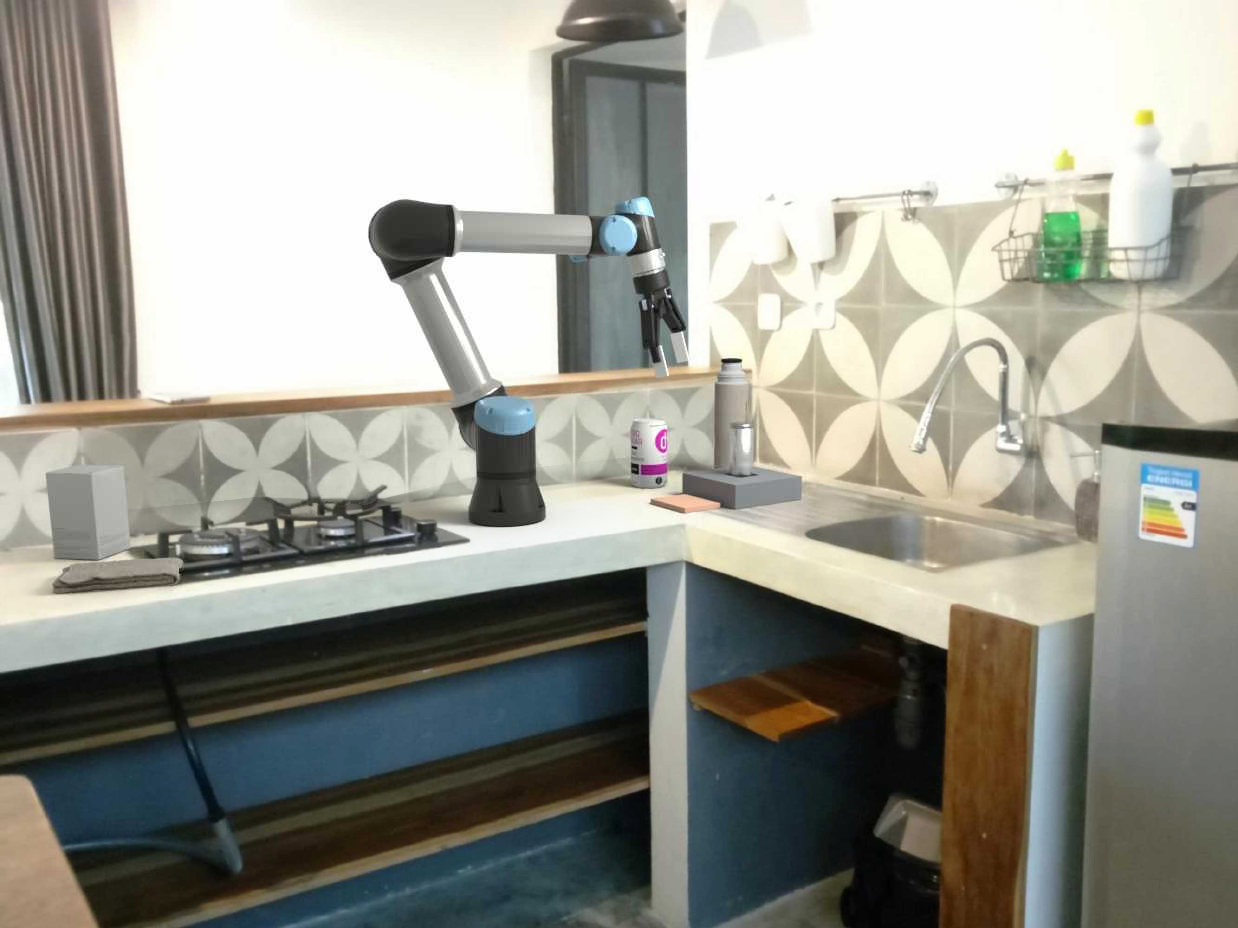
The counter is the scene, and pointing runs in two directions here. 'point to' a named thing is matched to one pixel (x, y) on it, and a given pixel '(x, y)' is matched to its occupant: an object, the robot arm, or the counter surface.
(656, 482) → the supplement can
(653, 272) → the robot arm
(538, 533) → the counter surface
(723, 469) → the block
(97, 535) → the supplement box
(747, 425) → the shiny metal cylinder
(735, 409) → the thermos bottle
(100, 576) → the washcloth
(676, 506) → the pad
